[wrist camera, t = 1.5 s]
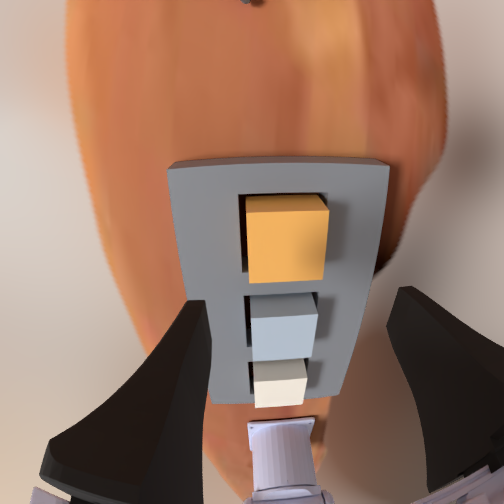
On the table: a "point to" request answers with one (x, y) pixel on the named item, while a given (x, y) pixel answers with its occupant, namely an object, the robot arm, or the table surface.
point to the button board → (237, 282)
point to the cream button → (279, 382)
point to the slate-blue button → (282, 326)
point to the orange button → (286, 238)
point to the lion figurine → (245, 1)
